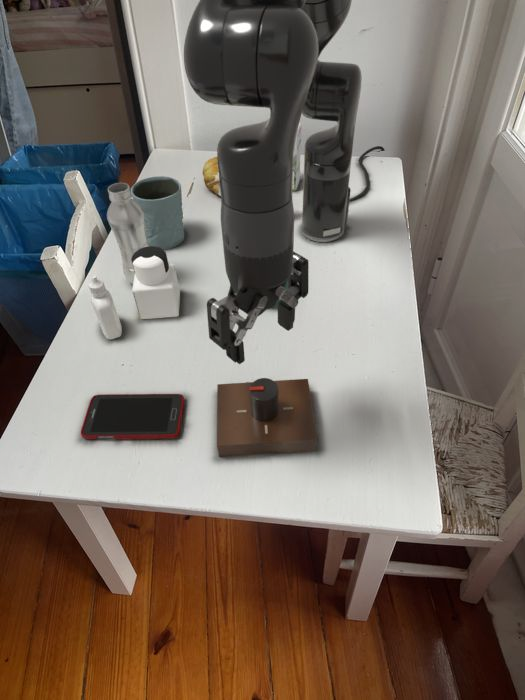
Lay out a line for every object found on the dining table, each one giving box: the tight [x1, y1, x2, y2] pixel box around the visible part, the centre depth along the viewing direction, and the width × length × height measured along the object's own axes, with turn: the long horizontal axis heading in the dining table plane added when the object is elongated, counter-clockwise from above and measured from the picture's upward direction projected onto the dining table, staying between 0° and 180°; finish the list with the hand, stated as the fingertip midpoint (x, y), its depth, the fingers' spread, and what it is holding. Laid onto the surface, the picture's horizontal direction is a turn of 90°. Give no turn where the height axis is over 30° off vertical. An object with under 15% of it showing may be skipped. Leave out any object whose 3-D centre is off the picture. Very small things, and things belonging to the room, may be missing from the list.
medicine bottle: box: [131, 246, 181, 320], centre depth 87 cm, size 7×7×12 cm
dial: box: [250, 377, 278, 421], centre depth 69 cm, size 4×4×5 cm
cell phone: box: [80, 393, 185, 440], centre depth 74 cm, size 8×15×1 cm, turn 89°
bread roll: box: [202, 156, 219, 196], centre depth 119 cm, size 13×10×8 cm
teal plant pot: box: [130, 175, 185, 250], centre depth 103 cm, size 10×10×12 cm
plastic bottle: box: [106, 182, 149, 285], centre depth 90 cm, size 6×7×20 cm
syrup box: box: [292, 122, 302, 192], centre depth 116 cm, size 6×6×14 cm
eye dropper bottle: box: [88, 275, 123, 340], centre depth 83 cm, size 4×6×12 cm
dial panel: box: [216, 378, 318, 458], centre depth 72 cm, size 14×11×3 cm
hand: (262, 342), depth 62 cm, fingers open, 8 cm apart
